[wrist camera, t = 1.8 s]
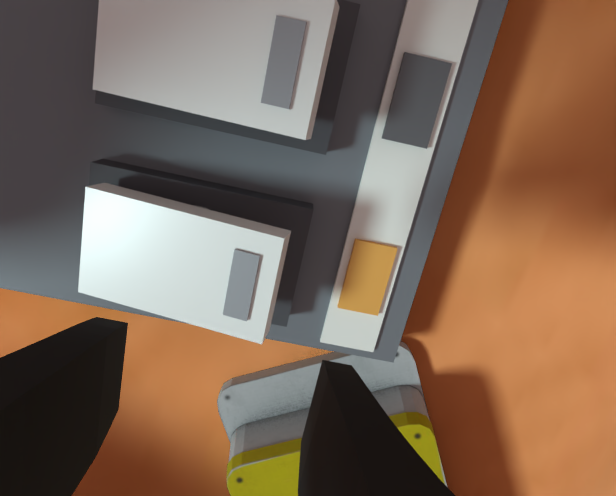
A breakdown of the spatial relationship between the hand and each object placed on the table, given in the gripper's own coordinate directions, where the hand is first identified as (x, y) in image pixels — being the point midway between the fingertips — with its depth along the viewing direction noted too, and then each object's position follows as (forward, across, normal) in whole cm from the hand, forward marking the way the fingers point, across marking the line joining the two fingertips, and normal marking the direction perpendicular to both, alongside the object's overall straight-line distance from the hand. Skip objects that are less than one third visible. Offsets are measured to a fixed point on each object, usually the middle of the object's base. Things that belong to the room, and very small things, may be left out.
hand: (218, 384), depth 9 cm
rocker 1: (+6, +2, -6) cm, 9 cm away
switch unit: (+10, +2, -6) cm, 12 cm away
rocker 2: (+6, +2, 0) cm, 7 cm away
